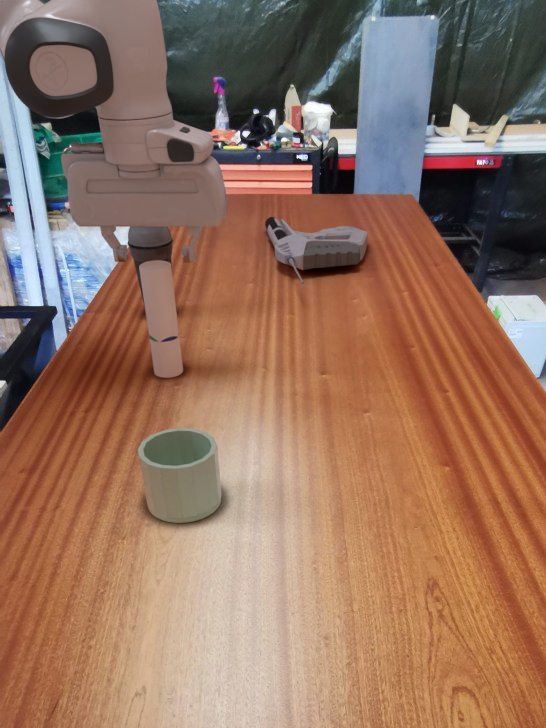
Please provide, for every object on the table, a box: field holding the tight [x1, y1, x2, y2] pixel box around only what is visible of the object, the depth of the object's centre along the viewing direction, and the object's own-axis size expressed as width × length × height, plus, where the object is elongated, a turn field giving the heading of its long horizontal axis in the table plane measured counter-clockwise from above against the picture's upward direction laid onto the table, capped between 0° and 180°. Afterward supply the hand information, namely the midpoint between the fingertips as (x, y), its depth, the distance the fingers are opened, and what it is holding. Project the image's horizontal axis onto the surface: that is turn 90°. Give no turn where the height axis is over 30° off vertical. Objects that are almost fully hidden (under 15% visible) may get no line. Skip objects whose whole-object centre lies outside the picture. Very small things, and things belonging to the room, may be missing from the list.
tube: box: [139, 260, 184, 379], centre depth 104 cm, size 4×4×15 cm
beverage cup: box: [127, 227, 174, 307], centre depth 120 cm, size 7×7×20 cm
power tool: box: [264, 216, 369, 287], centre depth 142 cm, size 45×5×20 cm
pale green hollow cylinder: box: [137, 427, 222, 524], centre depth 82 cm, size 8×8×7 cm
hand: (155, 261), depth 99 cm, fingers open, 8 cm apart
